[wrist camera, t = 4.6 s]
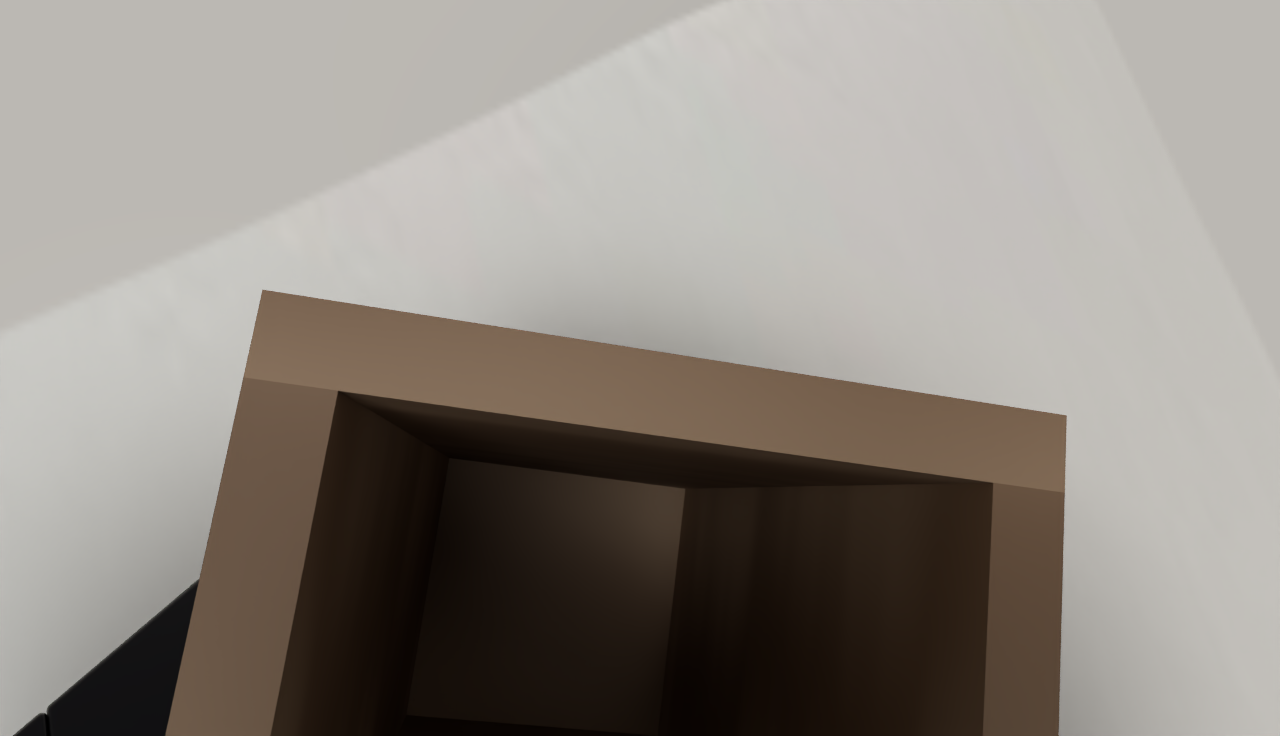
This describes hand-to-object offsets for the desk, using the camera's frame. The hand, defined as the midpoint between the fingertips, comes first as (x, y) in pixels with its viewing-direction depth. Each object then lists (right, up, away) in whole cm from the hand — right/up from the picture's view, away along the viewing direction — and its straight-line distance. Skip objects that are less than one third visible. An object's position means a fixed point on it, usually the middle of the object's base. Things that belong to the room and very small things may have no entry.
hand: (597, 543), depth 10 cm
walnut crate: (-1, -2, +6) cm, 7 cm away
